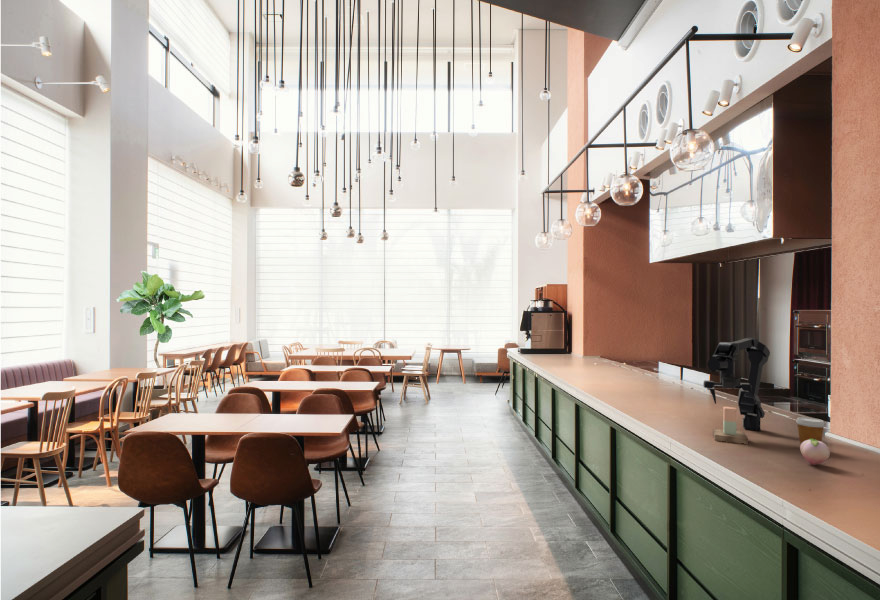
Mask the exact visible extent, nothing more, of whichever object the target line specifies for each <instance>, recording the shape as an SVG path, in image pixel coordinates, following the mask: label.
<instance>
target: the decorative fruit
mask: <svg viewBox="0 0 880 600" xmlns="http://www.w3.org/2000/svg"><path fill="white" fill-rule="evenodd" d="M799 449H800V450H799V451H800V452H801V455H802V456H803V458H804V459H805V460H806V461H807V462H809V464H811V465H813V466H815V465H818V464H823V463H824V462H826V461H827V460H829V457H830V455H831V453H830V452H831V451H830V448H829V447H828V446H827V444H825V443H824V442H823V441H821V442H820V441H817V440H816V439H815V437H814V439H809V440H806V441H804V442H803V443H802V444H801V446H799Z"/></svg>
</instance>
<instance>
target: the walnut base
mask: <svg viewBox="0 0 880 600" xmlns="http://www.w3.org/2000/svg"><path fill="white" fill-rule="evenodd" d="M713 436H714V437H713ZM712 437H713V438H714V441H715V442H722V441H726V442H725V443H732V442H735V443H734V444H741V443H744V444H743V445H748V444H749V437H748V436H747V435H746V433H745V432H744V431H738V430H736V435H730V434H724V432H723V429H716V428H712Z"/></svg>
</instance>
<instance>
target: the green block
mask: <svg viewBox="0 0 880 600" xmlns="http://www.w3.org/2000/svg"><path fill="white" fill-rule="evenodd" d="M722 420H723V423H722V426H723V427H722V430H723V432H724V434H730V435H736V431H737V425H738V424H737V421H736V422H729V421H724V419H722Z"/></svg>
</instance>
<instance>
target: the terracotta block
mask: <svg viewBox="0 0 880 600" xmlns="http://www.w3.org/2000/svg"><path fill="white" fill-rule="evenodd" d="M722 409H723V416H722V417H723V419H724V421H729V422H737V413H738V412H737V411H738V410H737V407H733V406H723V408H722ZM723 419H722V420H723Z"/></svg>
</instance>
